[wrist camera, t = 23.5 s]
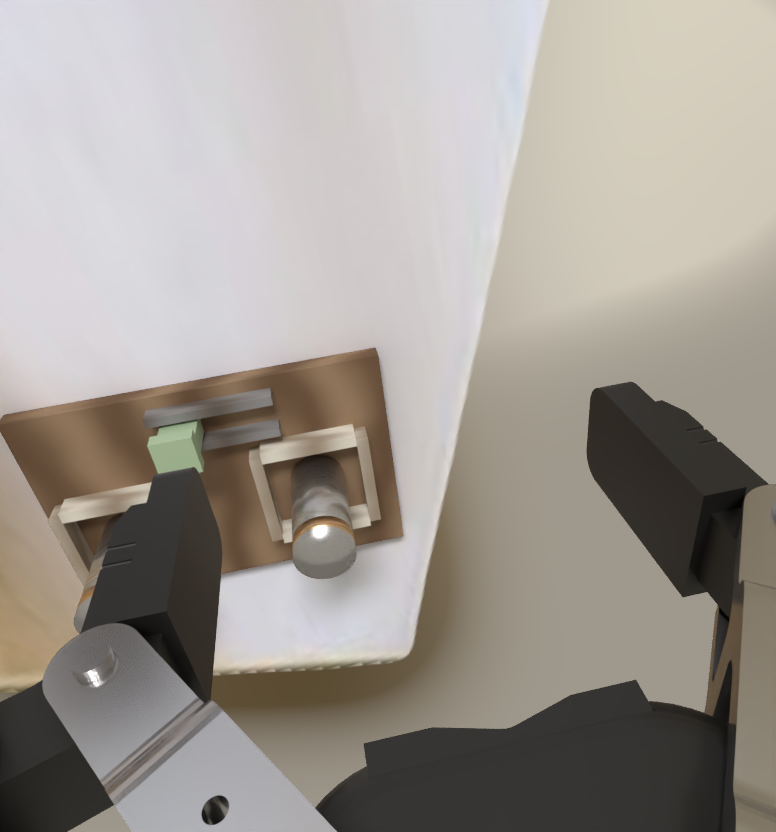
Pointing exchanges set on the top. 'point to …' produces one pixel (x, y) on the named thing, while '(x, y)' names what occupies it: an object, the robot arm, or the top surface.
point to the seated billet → (94, 573)
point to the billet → (321, 518)
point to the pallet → (217, 454)
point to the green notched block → (178, 446)
